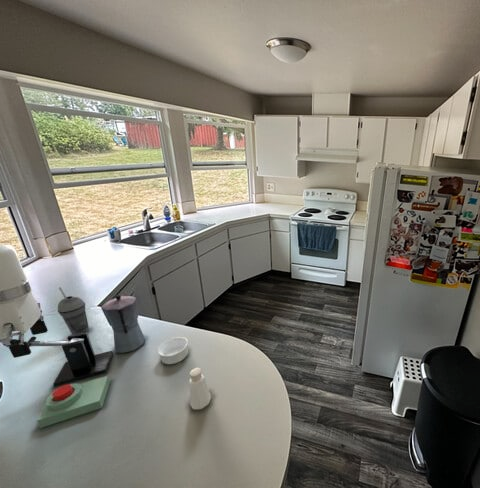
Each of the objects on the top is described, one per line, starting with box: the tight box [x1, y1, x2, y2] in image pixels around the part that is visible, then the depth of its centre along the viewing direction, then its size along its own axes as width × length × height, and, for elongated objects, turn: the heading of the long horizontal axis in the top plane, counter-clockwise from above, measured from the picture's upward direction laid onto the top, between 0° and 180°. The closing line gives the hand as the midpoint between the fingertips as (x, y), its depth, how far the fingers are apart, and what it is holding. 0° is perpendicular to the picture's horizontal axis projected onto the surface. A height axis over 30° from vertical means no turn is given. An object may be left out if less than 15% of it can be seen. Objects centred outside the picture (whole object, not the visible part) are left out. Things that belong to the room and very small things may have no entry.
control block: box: [36, 375, 111, 429], centre depth 68 cm, size 12×9×4 cm
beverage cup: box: [57, 286, 90, 335], centre depth 91 cm, size 7×7×20 cm
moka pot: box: [100, 294, 146, 354], centre depth 86 cm, size 10×15×20 cm, turn 44°
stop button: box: [51, 384, 73, 401], centre depth 66 cm, size 4×4×2 cm
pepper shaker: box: [188, 367, 212, 410], centre depth 69 cm, size 5×5×11 cm
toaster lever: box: [27, 336, 84, 348], centre depth 74 cm, size 12×5×2 cm, turn 117°
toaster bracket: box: [52, 332, 114, 388], centre depth 78 cm, size 12×9×12 cm
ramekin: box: [157, 336, 189, 365], centre depth 85 cm, size 9×9×4 cm
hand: (32, 343), depth 71 cm, fingers open, 9 cm apart
